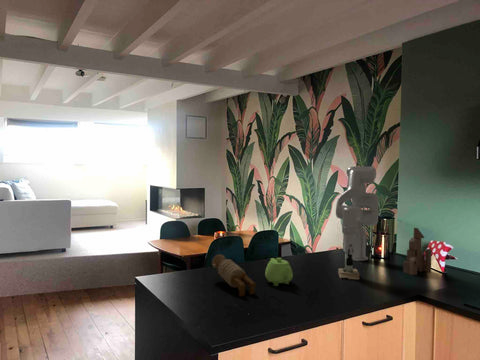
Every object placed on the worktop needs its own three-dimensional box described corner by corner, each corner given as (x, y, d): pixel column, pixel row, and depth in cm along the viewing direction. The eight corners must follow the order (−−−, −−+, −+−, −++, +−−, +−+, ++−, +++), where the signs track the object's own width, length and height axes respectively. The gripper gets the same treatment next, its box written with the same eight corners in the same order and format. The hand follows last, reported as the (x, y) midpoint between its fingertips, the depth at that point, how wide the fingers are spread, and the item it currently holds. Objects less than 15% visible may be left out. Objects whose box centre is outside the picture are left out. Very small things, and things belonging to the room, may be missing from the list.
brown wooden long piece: (255, 301, 185) (225, 273, 210) (258, 276, 182) (227, 251, 207) (237, 304, 180) (208, 275, 205) (239, 279, 177) (210, 253, 202)
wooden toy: (413, 275, 216) (414, 230, 215) (403, 272, 222) (404, 228, 221) (432, 272, 223) (433, 228, 222) (422, 269, 229) (423, 226, 228)
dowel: (344, 270, 216) (344, 248, 215) (351, 270, 215) (352, 248, 215) (345, 272, 212) (345, 249, 211) (353, 272, 211) (353, 249, 211)
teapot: (300, 287, 194) (300, 261, 193) (275, 290, 189) (275, 264, 189) (282, 276, 213) (282, 253, 212) (259, 278, 208) (259, 254, 208)
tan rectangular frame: (338, 273, 219) (338, 268, 219) (356, 274, 218) (356, 268, 218) (340, 278, 209) (340, 272, 209) (359, 279, 208) (359, 273, 208)
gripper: (340, 227, 221) (339, 260, 222) (344, 232, 205) (343, 268, 205) (354, 228, 220) (353, 261, 221) (359, 233, 204) (358, 268, 204)
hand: (348, 264), depth 213 cm, fingers closed on dowel, 4 cm apart
